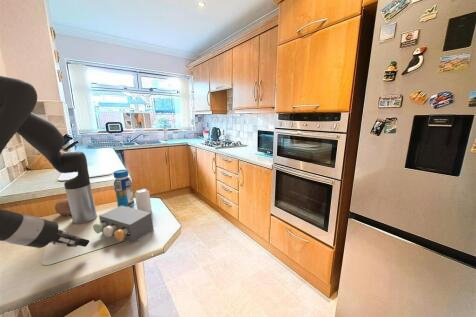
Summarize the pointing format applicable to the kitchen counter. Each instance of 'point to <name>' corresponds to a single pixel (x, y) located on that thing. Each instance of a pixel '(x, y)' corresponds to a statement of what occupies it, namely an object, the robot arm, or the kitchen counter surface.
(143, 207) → the can
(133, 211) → the control box
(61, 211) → the onion
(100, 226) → the button green
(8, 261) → the kitchen counter surface
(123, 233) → the button orange
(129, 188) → the beverage bottle
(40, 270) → the kitchen counter surface
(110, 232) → the button cream
